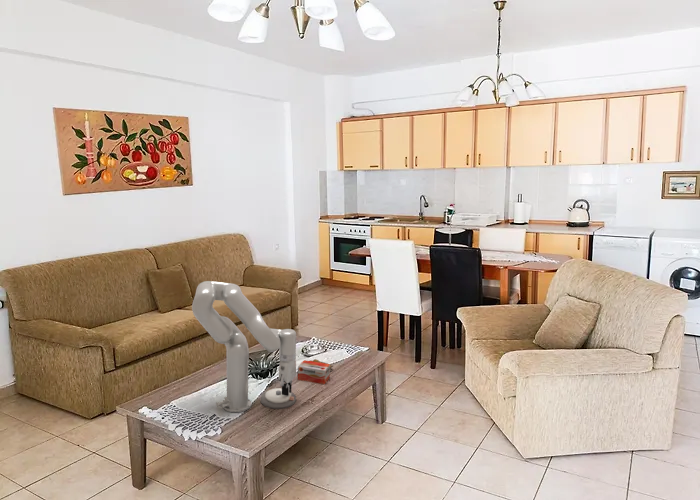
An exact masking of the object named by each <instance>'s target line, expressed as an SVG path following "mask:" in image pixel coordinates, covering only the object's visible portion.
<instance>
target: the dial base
mask: <svg viewBox="0 0 700 500" xmlns="http://www.w3.org/2000/svg"><path fill="white" fill-rule="evenodd" d="M266 392H267V391H266ZM266 392H263V393H262V395H261V396H260V404H261V405H262V406H263V407H265V408H268V409H273V410H281V409H282V410H283V409H288V408H289V407H292V406H294V405H295V404H296V401H297V396H296V394H295V393H294V392H292V391H291V396H292V397H294V400H289V401H287V402H284V403H272V402H269V401H267V400H266V398H265V394H266Z"/></svg>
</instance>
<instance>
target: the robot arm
mask: <svg viewBox="0 0 700 500" xmlns="http://www.w3.org/2000/svg"><path fill="white" fill-rule="evenodd" d="M243 293H244V292H242V289H241V287H240V286H239V285H238V284H236V283H230V282H223V281H221V282H220V281H214V280H213V281H211V280H206V281H205V280H204V281H202V282H200V283H198V285H197V287H196V290H195V294H194V297H193V299H192V304H191V310H192V311H191V312H192V313H193V316H194V317H195V319H196V320H197V321H198V323H199V324H200V325H201V326H202V327H203V329H204V330H205V331H206V332H207V333H208V334H209V335H210V337H211V338H212V339H213V340H214V341H215V342H216V343H218V344H223V345H224V346H225V349H226V396H225V397H224V399H222V401H218V402H216V403H215V404H216V407H221V408H222V409H224V410H225V411H227V412H229V413H243V412H246V411H249V410H250V408H251V407H252V405H253V404H252V401H251V399H249V360H250V359H249V357H250V351H249V344H248V339H247V338H246V335H244V333H243V332H242V331H241V330H240V328H239V327H238V326H237V325H236V324H235V323H234V322H233V321H232V320H231V319H230V318H229V317H228V316H224V315H220V314H219V312H218V311H217V310H216V309H215V308H214V306H213V305H214V303H215V301H222V302H223V303H224V305H226V307H227V308H228V309H229V310H230V311H231V312H232V313H233V314H234V315H235V316H236V317H237V318H238V320H240V322H242V324H243V325H244V327H245V328H246V330H248V331H249V332H250V334H251V335H252V336H253V338H254V339H255V340H256V342H258V343H259V344H260V345H261V346H262V347H263V349H264V350H266V351H267V352H270V353H274V352H276V351H278V355H279V356H278V359H279V366H278V367H279V368H278V381H279V386H281V387H280V388H282V395H286V396H288V395H289V393H291V392H292V383H293V380H294V379H295V377H297V360H296V355H297V354H296V351H297V332H296V330H294V329H291V328H284V329H278V328H271V327H269V326H268V325H267V323H266V321H265V320H264V318H263V317H262V314H261V313H260V311H259V309H257V308H256V306H254V304H253V303H252V302H251V301H250V300H249V299H248V298H247V296H245V295H244V294H243ZM288 385H289V387H288Z"/></svg>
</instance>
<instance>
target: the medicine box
mask: <svg viewBox="0 0 700 500" xmlns="http://www.w3.org/2000/svg"><path fill="white" fill-rule="evenodd" d="M325 363H326V362H324V363H319V362H313V360H312V361H310V360H302V361H301V362H300V364H298V365H297V371H296V377H297V380H298V381H303V382H309V383H314V384H319V385H325V384H326V383H327V382H328V381H329V380H330V378H331V377H330V376H331V370H330V365H331V364H330V363H328V364H325Z"/></svg>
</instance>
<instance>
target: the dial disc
mask: <svg viewBox="0 0 700 500" xmlns="http://www.w3.org/2000/svg"><path fill="white" fill-rule="evenodd" d="M288 387H289V385H288ZM265 398H266V400H267V401H269V402H272V403H284V402H287V401H289V400H294V397H292V396H291V393H289V395H288V396H286V395H282V387H278V388H271V389H269V390H267V391H266V394H265Z"/></svg>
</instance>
